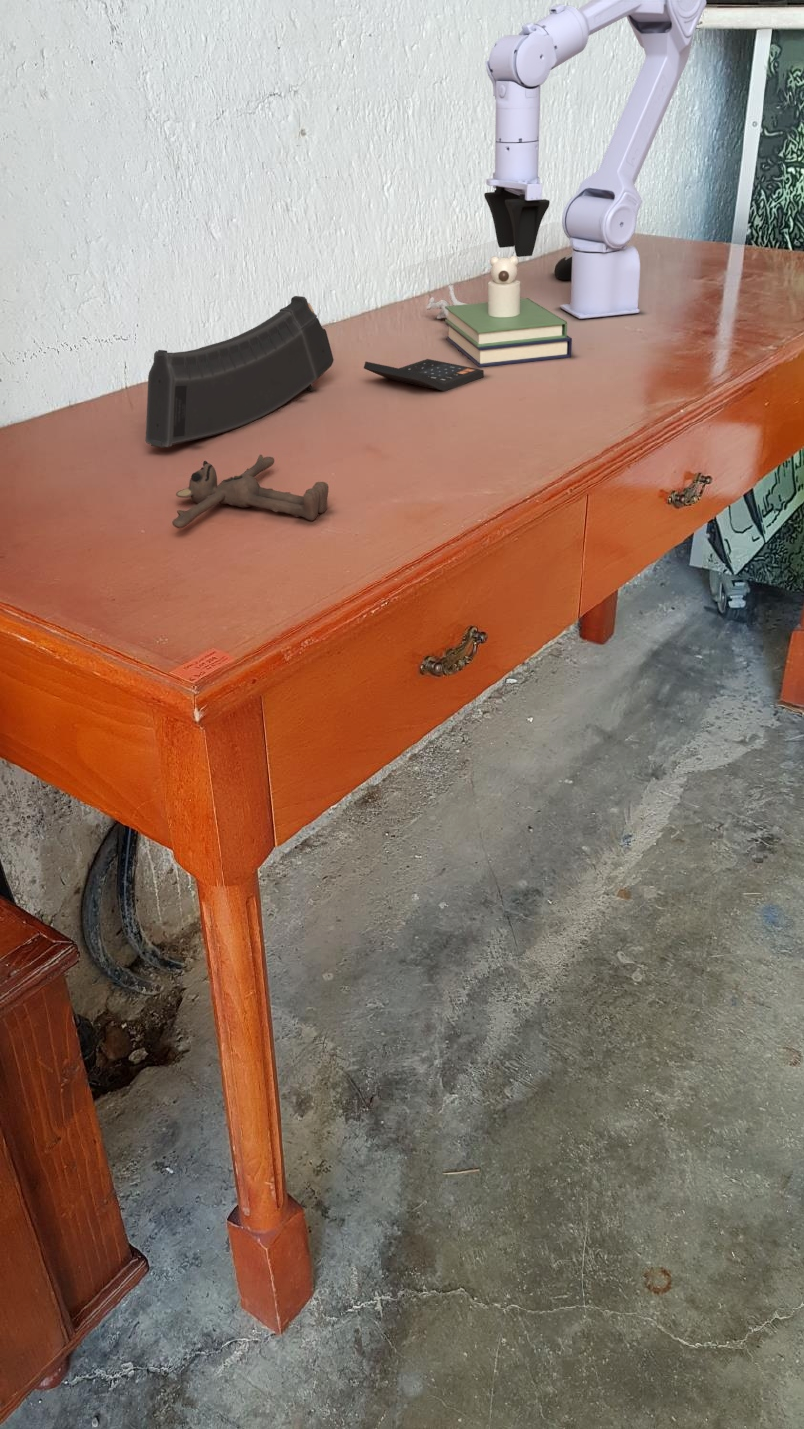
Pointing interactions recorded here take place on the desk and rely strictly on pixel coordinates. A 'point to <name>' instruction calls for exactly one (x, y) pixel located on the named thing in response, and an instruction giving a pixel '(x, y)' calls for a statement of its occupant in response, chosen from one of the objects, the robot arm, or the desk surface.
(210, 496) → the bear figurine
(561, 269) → the computer mouse
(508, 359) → the book stack
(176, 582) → the desk surface
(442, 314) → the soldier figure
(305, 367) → the magazine
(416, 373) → the calculator
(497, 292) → the toy bear
